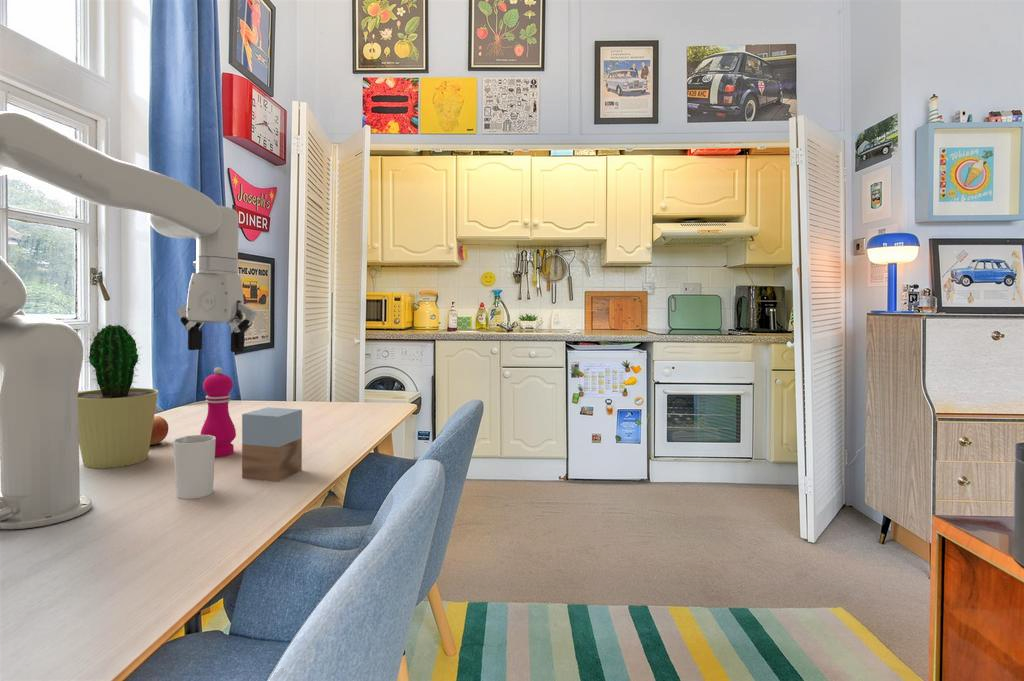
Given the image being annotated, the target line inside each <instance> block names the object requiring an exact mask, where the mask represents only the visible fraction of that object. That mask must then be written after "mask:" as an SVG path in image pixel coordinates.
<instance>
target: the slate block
mask: <svg viewBox="0 0 1024 681" xmlns="http://www.w3.org/2000/svg"><path fill="white" fill-rule="evenodd" d="M301 438H302V439H303V409H299V408H298V409H297V408H285V407H284V408H283V407H281V408H280V407H269V406H268V407H264V408H259V409H257V410H252V411H249V412H244V413H241V445H242V444H247V445H259V446H270V447H280V446H283V445H285V444H288V443H290V442H293V441H295V440H298V439H301Z"/></svg>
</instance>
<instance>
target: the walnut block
mask: <svg viewBox="0 0 1024 681" xmlns="http://www.w3.org/2000/svg"><path fill="white" fill-rule="evenodd" d="M302 439H303V437H302V438H301V439H298V440H295V441H293V442H290V443H288V444H285V445H283V446H280V447H270V446H259V445H247V444H242V443H241V479H245V480H257V481H264V480H266V482H267V481H268V482H275V481H276V482H278V483H279V482H281V481H283V480H285V479H287V478H290V477H291V476H293V475H295V474H297V473H299V472H301V471H302V470H303V469H302V468H303V463H302V462H303V460H302V459H303V457H302V456H303V447H302V446H303V440H302ZM276 482H275V483H276Z"/></svg>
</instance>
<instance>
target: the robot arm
mask: <svg viewBox="0 0 1024 681" xmlns="http://www.w3.org/2000/svg"><path fill="white" fill-rule="evenodd" d="M13 173H14V174H15V173H19V174H22V175H24V176H26V177H29V178H31V179H33V180H36V181H38V182H41V183H43V184H45V185H48V186H51V187H52V188H55V189H58V190H59V191H62V192H64V193H66V194H69V195H71V196H74V197H76V198H78V199H81V200H83V201H86V202H88V203H90V204H93V205H98V206H103V207H108V208H112V209H113V208H115V209H122V210H124V209H125V210H132V211H138V212H143V213H146V214H148V215H147V218H148V222H149V224H150V227H152V228H153V230H155V232H157V233H159V234H160V235H161V236H165V237H168V238H172V239H194V240H196V250H195V252H196V257H195V258H196V260H195V261H193V262H192V267H193V268H194V269H196V270H195V272H192V274H191V277H190V280H189V285H188V293H187V301H186V303H185V304H184V305H181V306H180V307H178V308H177V309H176V311H177V314H178V316H179V319H180V322H181V323H182V325H183V326H184V329H185V330H186V331H187V349H188V351H199V350H202V349H203V331H202V330H200V329H201V328H202V326H203V325H204V324H205V323H218V324H219V323H220V324H222V323H223V324H225V323H228V325H229V326H230V328H231V329H232V331H233V332H231V333H230V351H231V353H242V352H244V351H245V350H244V348H245V333H247V332H248V329H249V328H250V327H251V326H252V325H253V321H254V320H255V319H256V316H257V315H258V314H257V311H256V310H254V309H252V308H251V307H250V306H248V305H246V304H245V303H244V291H243V290H244V289H243V284H242V279H241V275H239V274H238V272H239V269H238V268H239V266H238V265H239V221H240V220H239V213H238V212H237V211H236V209H234V208H231V207H228V206H224V205H217V203H216V202H215V201H214V200H213V199H212V198H210V197H209V196H207V195H206V194H204V193H203V192H201V191H199V190H198V189H196V188H194V187H192V186H189V185H188V184H186V183H184V182H182V181H179V180H177V179H175V178H173V177H170V176H168V175H166V174H162V173H159V172H156V171H154V170H151V169H147V168H144V167H141V166H139V165H136V164H132V163H130V162H126V161H122V160H120V159H117V158H114V157H112V156H109V155H107V154H106V153H104V152H101V151H99V150H97V149H96V148H94V147H92V146H90V145H87V144H86V143H84V142H82V141H80V140H78V139H76V138H74V137H72V136H70V135H68V134H66V133H65V132H62V131H60V130H58V129H57V128H55V127H52V126H51V125H49V124H46V123H45V122H43V121H40V120H39V119H36V118H35V117H32V116H31V115H27V114H24V113H22V112H17V111H11V110H5V111H4V110H3V111H0V176H4V175H8V174H13ZM27 298H28V292H27V287H26V285H25V284H24V282H23V280H22V278H21V277H20V276H19V275H18V274H17V272H16V271H15V270H14V269H13V268H12V267H11V266H10V265H9V264H8V263H7V261H6V260H4V258H3V257H2V256H1V255H0V373H2V374H3V378H2V382H1V387H0V529H1V530H21V529H31V528H38V527H39V528H40V527H44V526H49V525H53V524H58V523H61V522H66V521H68V520H71V519H74V518H77V517H79V516H81V515H83V514H85V513H86V512H88V511H89V510H90V509H92V506H93V502H92V498H91V497H89V496H86V495H82V494H81V488H80V486H81V484H80V480H81V478H80V446H79V420H78V393H79V384H80V377H81V371H82V366H83V361H84V344H83V342H82V340H81V337H80V336H79V335H78V333H77V331H76V330H75V329H73V327H72V326H70V325H68V324H67V323H65V322H64V321H61V320H58V319H54V318H49V317H43V316H28V314H26V313H25V311H24V310H22V309H23V308H24V307H25V305H26V302H27ZM244 315H245V317H244Z"/></svg>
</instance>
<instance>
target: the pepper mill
mask: <svg viewBox="0 0 1024 681" xmlns="http://www.w3.org/2000/svg"><path fill="white" fill-rule="evenodd" d="M213 373H214V374H210V375H208V376H207V377H206V378H205V379H204V381H203V384H202V388H203V391H204V392H205V394H206V396H205V399H206V400H205V402H206V403H207V414H206V418H205V421H204V422H203V425H202V427H201V430H200V434H199V435H211V436H215V437H216V441H215V458H220V457H226V456H230V455H232V454H233V453H234V451H235V450H234V444H233V443H232V442H233V441H234V439H235V438H236V437H237V432H236V428H235V424H234V423H233V420H232V418H231V416H230V415H231V414H230V411H229V403H230V401H231V395H230V392H231V391H232V390H233V387H234V382H233V380H232V378H231V377H230V376H229V375H226V374H224V373H223V368H221V367H219V366H217V367H214V369H213Z"/></svg>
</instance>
